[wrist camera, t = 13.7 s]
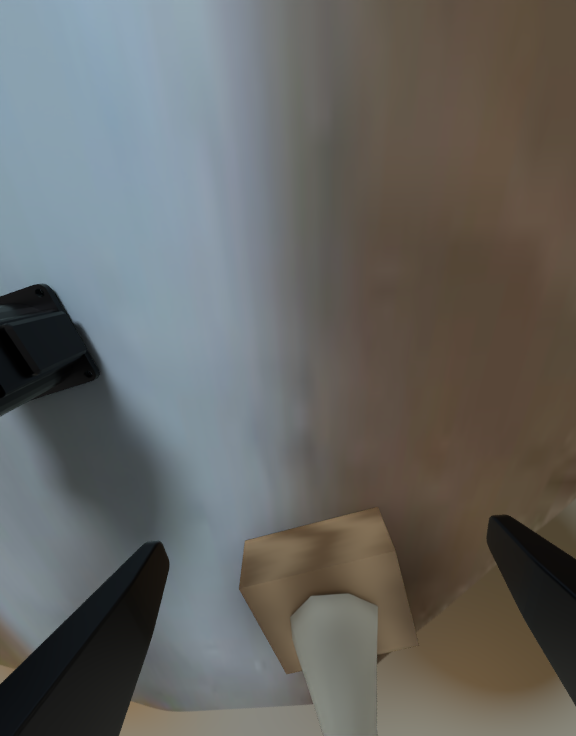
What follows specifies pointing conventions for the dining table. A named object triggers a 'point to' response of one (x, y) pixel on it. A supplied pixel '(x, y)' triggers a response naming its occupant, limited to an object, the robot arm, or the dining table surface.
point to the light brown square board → (326, 578)
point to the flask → (339, 661)
